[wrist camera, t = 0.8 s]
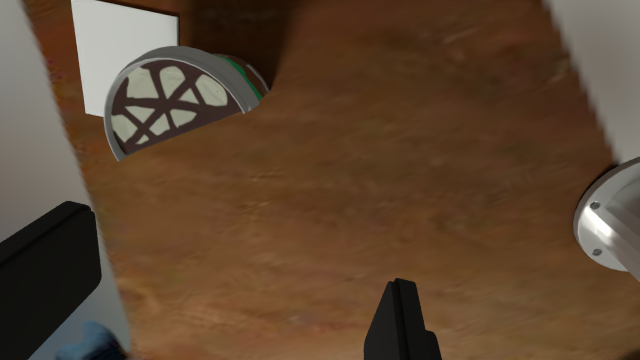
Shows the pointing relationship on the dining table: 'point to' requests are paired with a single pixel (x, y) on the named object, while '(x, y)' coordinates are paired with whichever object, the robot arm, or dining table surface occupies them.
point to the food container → (176, 95)
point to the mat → (114, 43)
